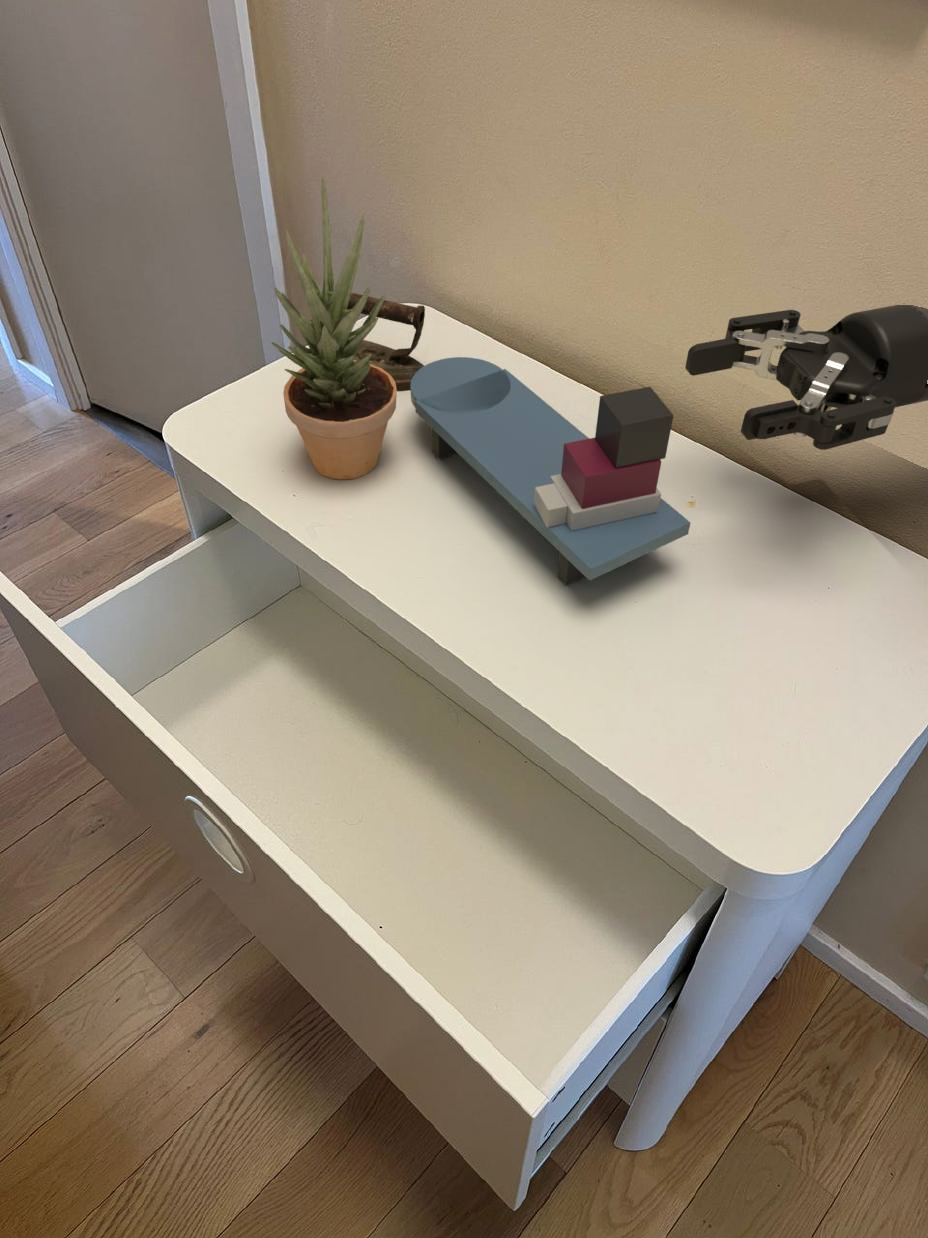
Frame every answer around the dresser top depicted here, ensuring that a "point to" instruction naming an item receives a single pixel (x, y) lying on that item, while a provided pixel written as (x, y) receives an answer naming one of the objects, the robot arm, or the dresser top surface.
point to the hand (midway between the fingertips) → (716, 392)
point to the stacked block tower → (611, 465)
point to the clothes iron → (389, 358)
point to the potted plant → (335, 368)
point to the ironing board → (527, 459)
